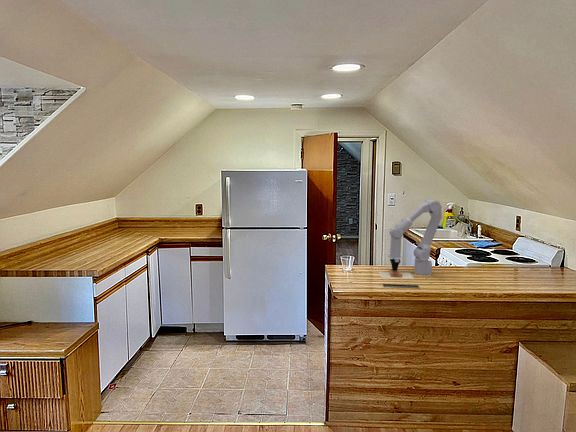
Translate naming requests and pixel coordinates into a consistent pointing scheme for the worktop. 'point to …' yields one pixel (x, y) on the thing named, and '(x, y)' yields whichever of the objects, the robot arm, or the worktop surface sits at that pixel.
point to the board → (387, 275)
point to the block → (395, 273)
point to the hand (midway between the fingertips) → (394, 271)
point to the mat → (401, 286)
